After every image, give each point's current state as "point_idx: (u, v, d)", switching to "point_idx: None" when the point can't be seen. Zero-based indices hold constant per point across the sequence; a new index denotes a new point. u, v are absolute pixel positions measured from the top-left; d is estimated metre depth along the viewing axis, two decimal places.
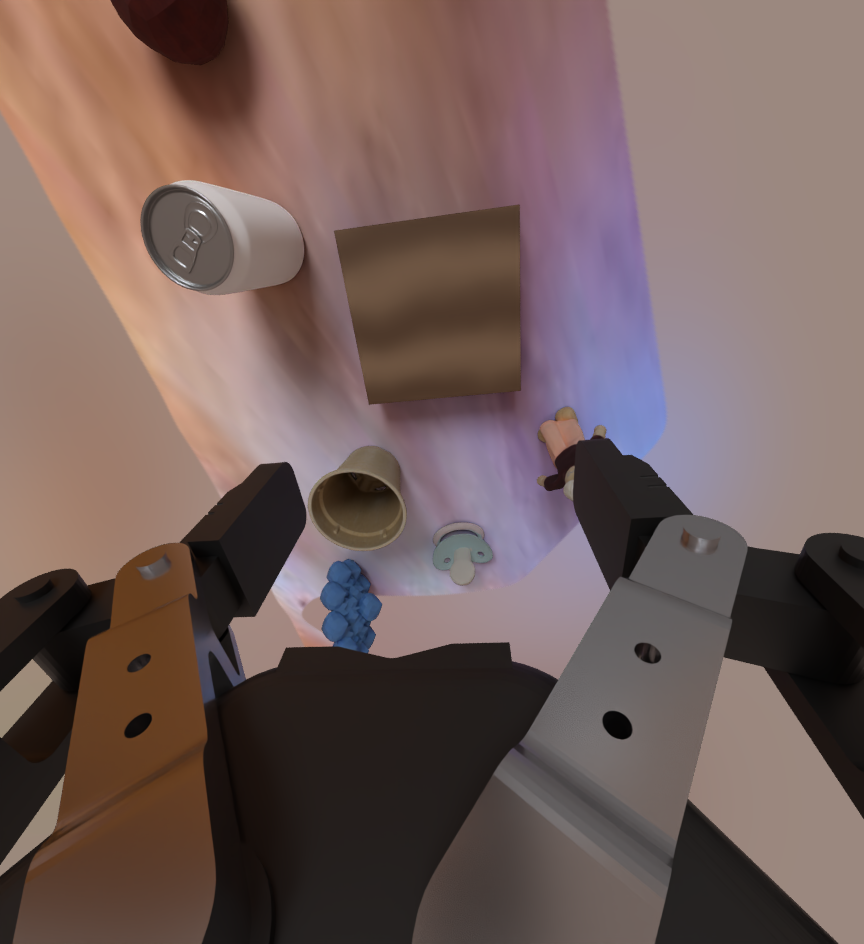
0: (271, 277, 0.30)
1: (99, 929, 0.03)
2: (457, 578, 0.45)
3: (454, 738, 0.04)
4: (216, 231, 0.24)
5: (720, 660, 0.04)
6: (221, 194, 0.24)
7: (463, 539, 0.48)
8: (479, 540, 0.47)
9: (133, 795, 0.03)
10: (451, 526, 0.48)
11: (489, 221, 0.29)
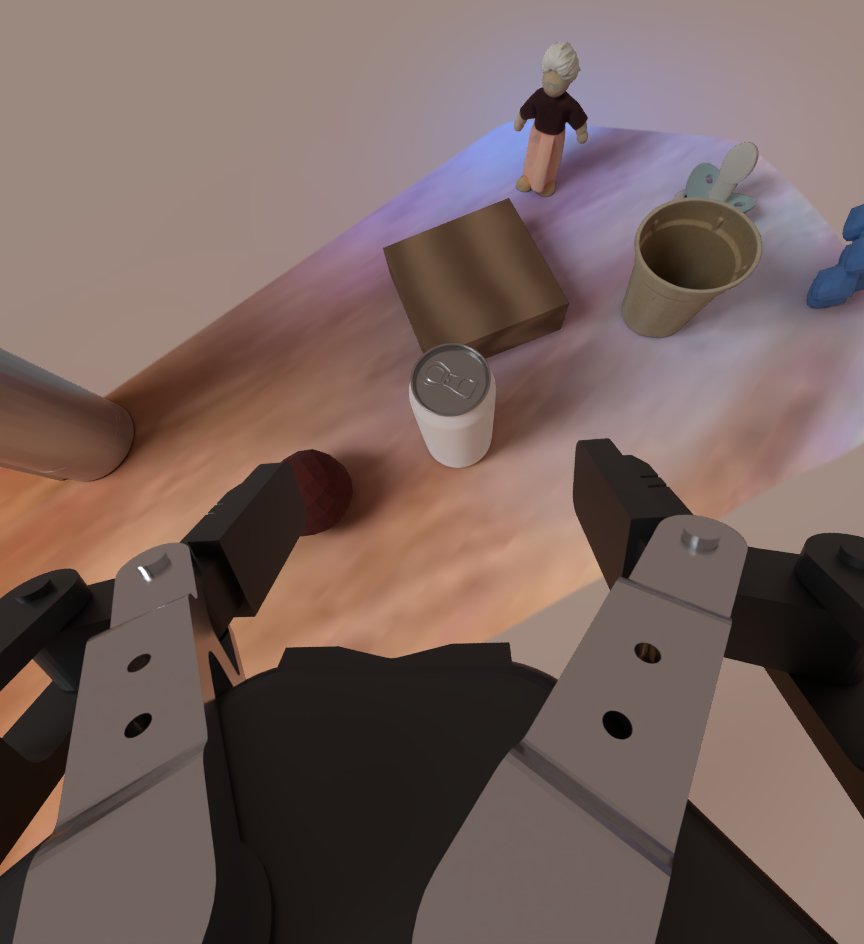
0: None
1: (99, 929, 0.03)
2: (750, 157, 0.37)
3: (454, 738, 0.04)
4: (437, 360, 0.28)
5: (720, 660, 0.04)
6: None
7: None
8: (691, 185, 0.42)
9: (133, 795, 0.03)
10: None
11: (397, 261, 0.40)
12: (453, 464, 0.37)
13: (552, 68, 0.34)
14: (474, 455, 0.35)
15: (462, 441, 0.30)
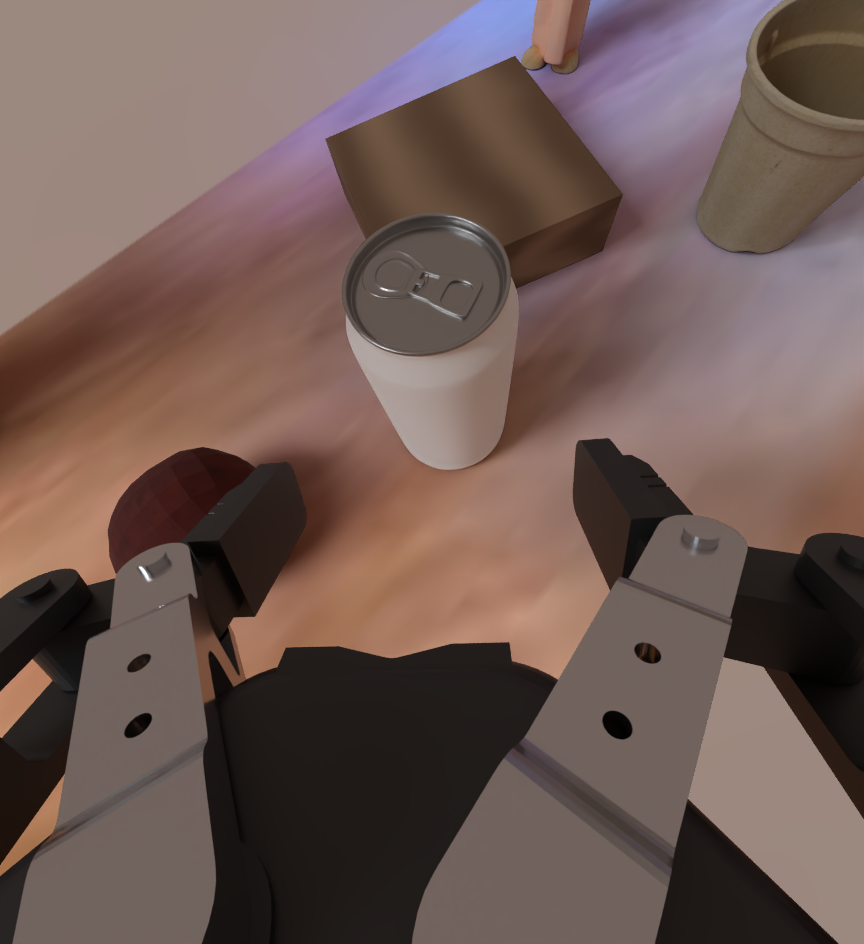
0: None
1: (99, 929, 0.03)
2: None
3: (454, 738, 0.04)
4: (398, 249, 0.14)
5: (720, 660, 0.04)
6: None
7: None
8: None
9: (133, 795, 0.03)
10: None
11: (346, 155, 0.26)
12: (444, 464, 0.22)
13: None
14: (478, 447, 0.20)
15: (455, 416, 0.16)
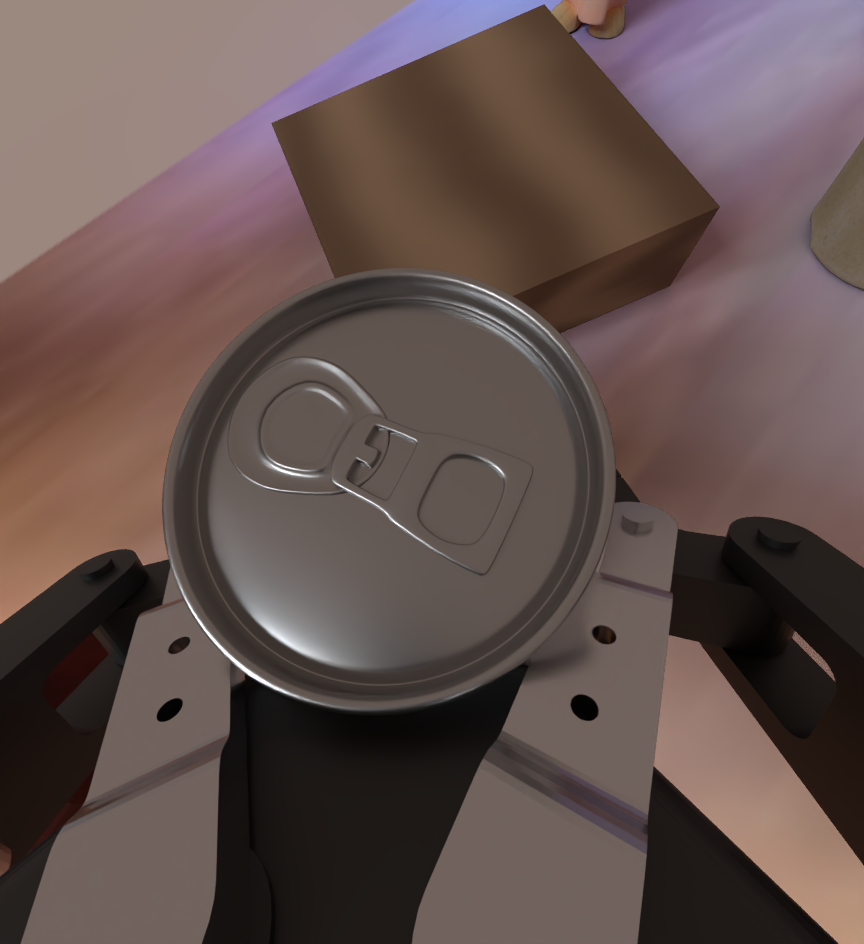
0: None
1: (99, 929, 0.03)
2: None
3: (454, 738, 0.04)
4: (318, 358, 0.06)
5: (667, 633, 0.04)
6: None
7: None
8: None
9: (153, 785, 0.03)
10: None
11: (300, 146, 0.18)
12: None
13: None
14: None
15: None
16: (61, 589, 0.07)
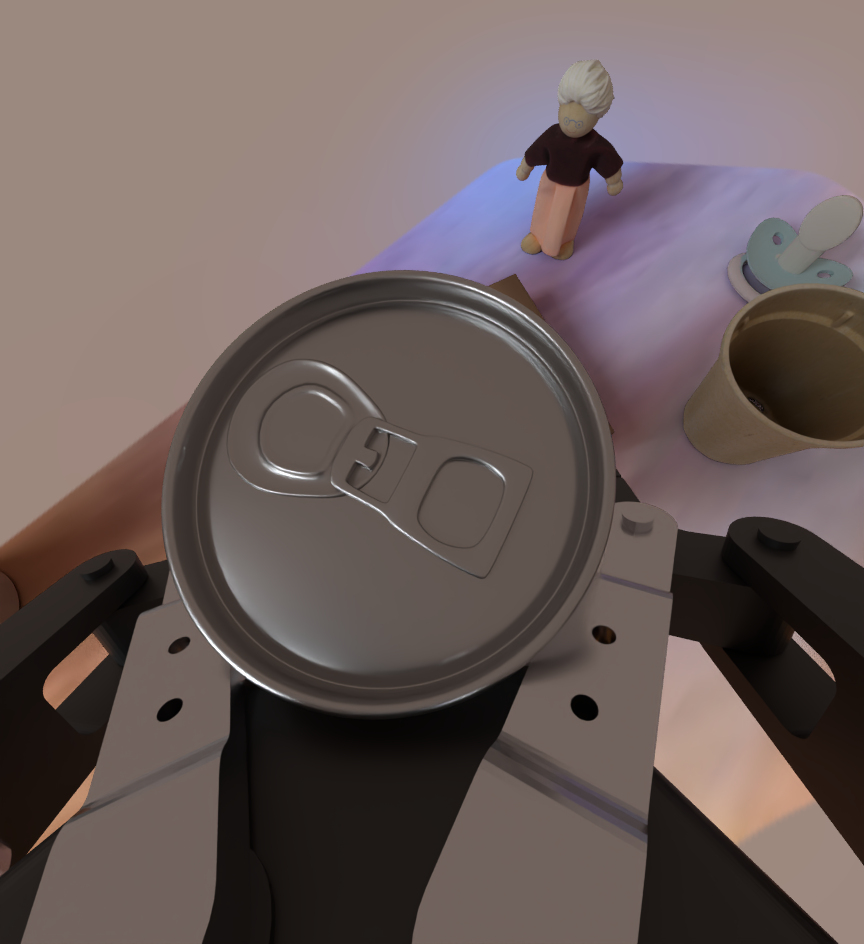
0: None
1: (99, 929, 0.03)
2: (850, 216, 0.25)
3: (454, 738, 0.04)
4: (318, 360, 0.06)
5: (667, 633, 0.04)
6: None
7: (765, 271, 0.30)
8: (753, 249, 0.30)
9: (153, 784, 0.03)
10: (751, 297, 0.30)
11: None
12: None
13: (574, 98, 0.23)
14: None
15: None
16: (61, 589, 0.07)
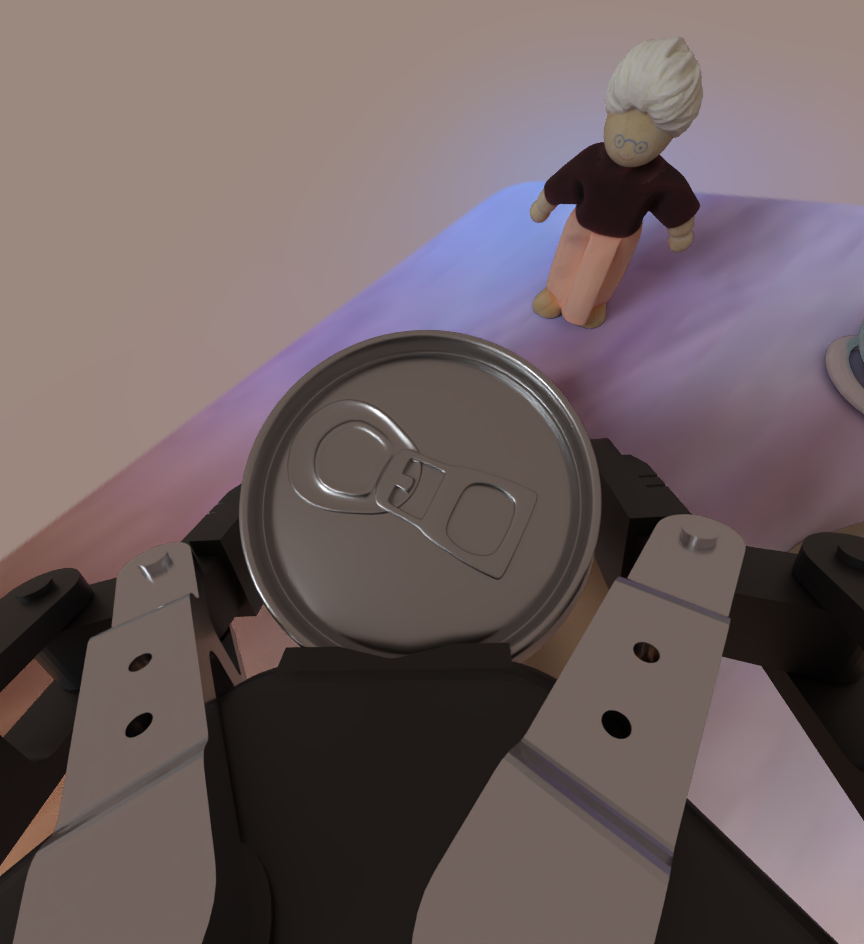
0: None
1: (99, 929, 0.03)
2: None
3: (454, 738, 0.04)
4: (362, 401, 0.07)
5: (719, 660, 0.04)
6: None
7: None
8: None
9: (134, 795, 0.03)
10: None
11: None
12: None
13: (638, 104, 0.13)
14: None
15: None
16: None
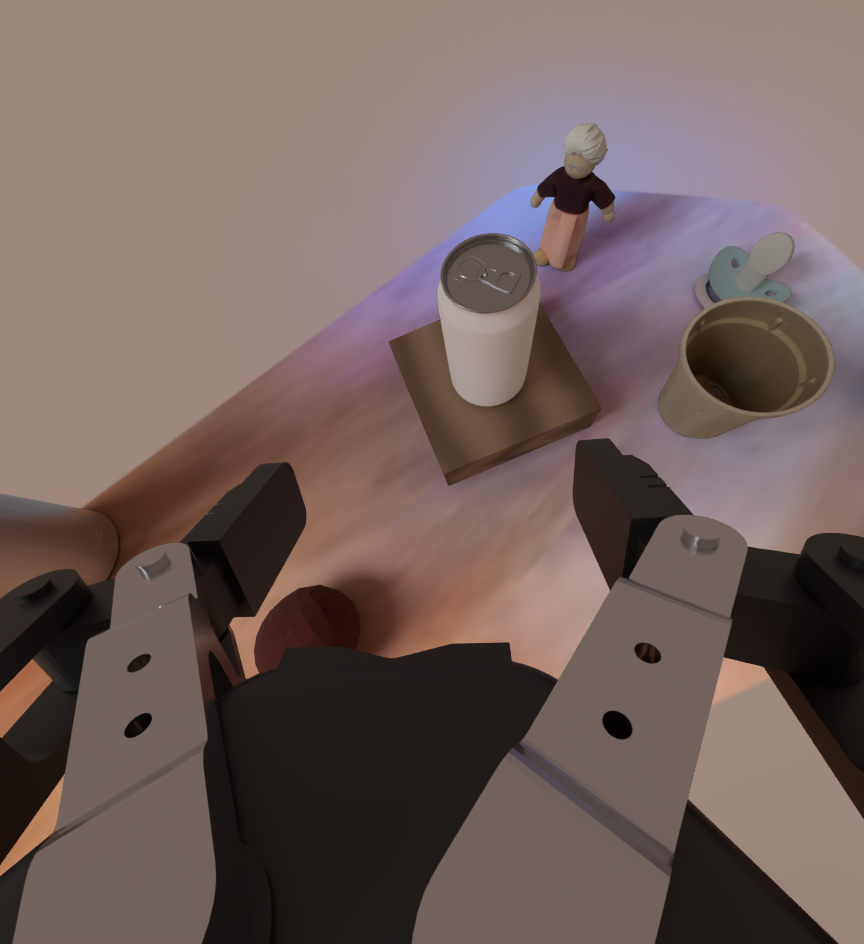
0: None
1: (99, 929, 0.03)
2: (784, 249, 0.32)
3: (454, 738, 0.04)
4: (471, 254, 0.24)
5: (720, 660, 0.04)
6: None
7: (723, 289, 0.37)
8: (714, 271, 0.37)
9: (133, 795, 0.03)
10: None
11: (404, 357, 0.36)
12: (484, 400, 0.32)
13: (576, 151, 0.30)
14: (509, 386, 0.31)
15: (500, 356, 0.26)
16: None
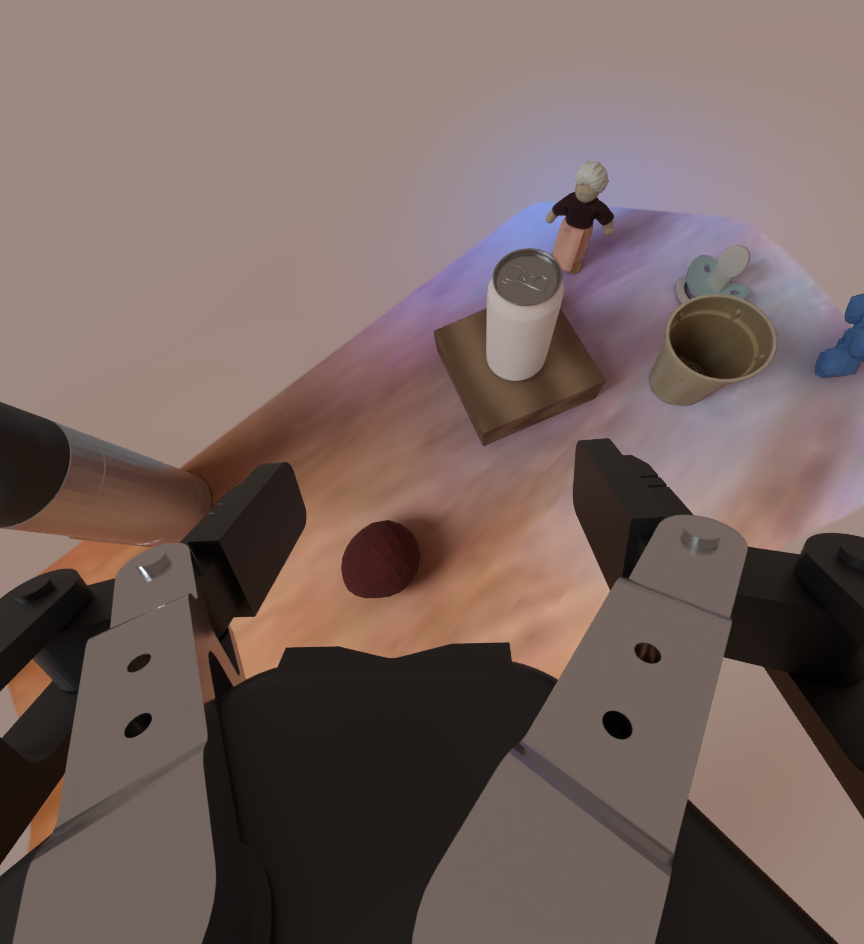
0: None
1: (99, 929, 0.03)
2: (742, 258, 0.42)
3: (454, 738, 0.04)
4: (513, 264, 0.33)
5: (720, 660, 0.04)
6: (490, 280, 0.34)
7: (698, 289, 0.46)
8: (690, 274, 0.47)
9: (133, 795, 0.03)
10: None
11: (447, 343, 0.45)
12: (514, 375, 0.41)
13: (585, 183, 0.39)
14: (535, 363, 0.40)
15: (532, 338, 0.35)
16: None
